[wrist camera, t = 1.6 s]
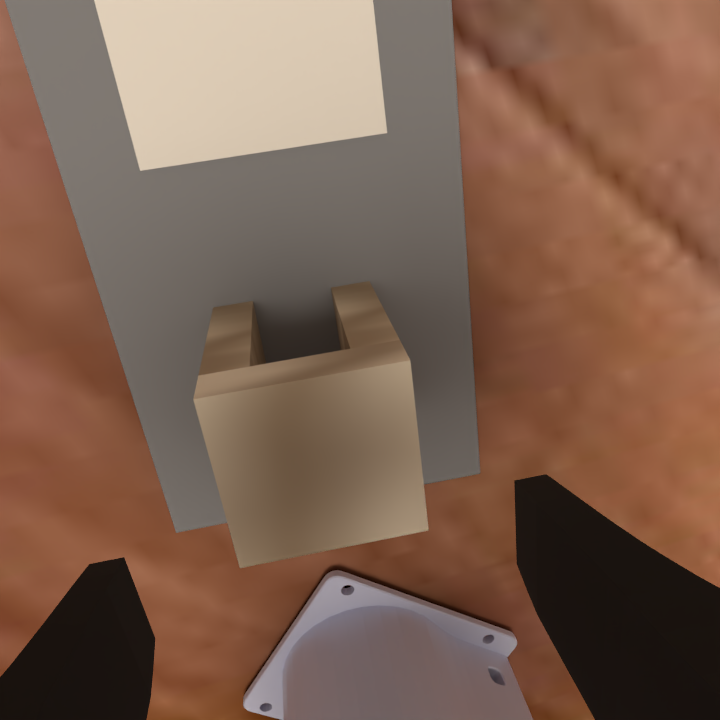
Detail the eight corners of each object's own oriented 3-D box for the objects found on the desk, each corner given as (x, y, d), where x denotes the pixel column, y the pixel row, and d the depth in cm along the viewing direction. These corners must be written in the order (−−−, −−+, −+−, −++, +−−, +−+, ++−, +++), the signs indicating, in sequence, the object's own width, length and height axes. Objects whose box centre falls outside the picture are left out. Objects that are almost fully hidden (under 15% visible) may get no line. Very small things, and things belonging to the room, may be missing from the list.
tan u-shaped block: (369, 281, 19) (410, 360, 14) (386, 415, 21) (428, 530, 16) (213, 307, 19) (193, 399, 14) (245, 441, 21) (239, 567, 16)
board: (472, 458, 24) (481, 476, 23) (179, 514, 23) (175, 536, 22) (426, -224, 15) (438, -246, 14) (-36, -171, 15) (-61, -192, 14)
